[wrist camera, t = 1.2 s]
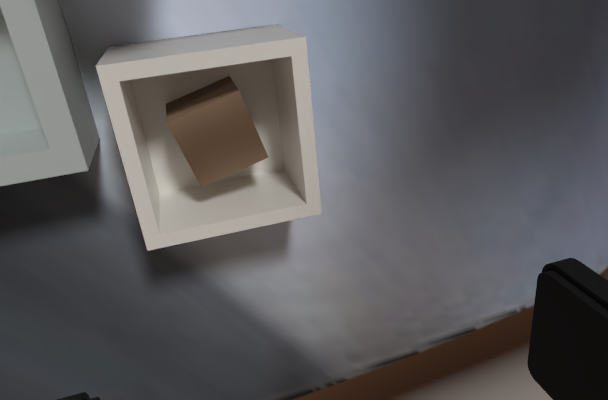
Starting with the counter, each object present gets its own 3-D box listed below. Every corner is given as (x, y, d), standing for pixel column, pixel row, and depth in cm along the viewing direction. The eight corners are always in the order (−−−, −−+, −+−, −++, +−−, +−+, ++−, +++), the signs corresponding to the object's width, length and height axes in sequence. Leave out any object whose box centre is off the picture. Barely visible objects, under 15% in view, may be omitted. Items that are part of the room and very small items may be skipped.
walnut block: (165, 103, 25) (166, 122, 22) (229, 75, 25) (239, 90, 22) (196, 162, 26) (201, 187, 23) (256, 135, 27) (268, 157, 23)
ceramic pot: (108, 46, 24) (95, 65, 19) (277, 24, 25) (305, 36, 20) (149, 201, 27) (147, 250, 23) (294, 173, 29) (321, 213, 24)
